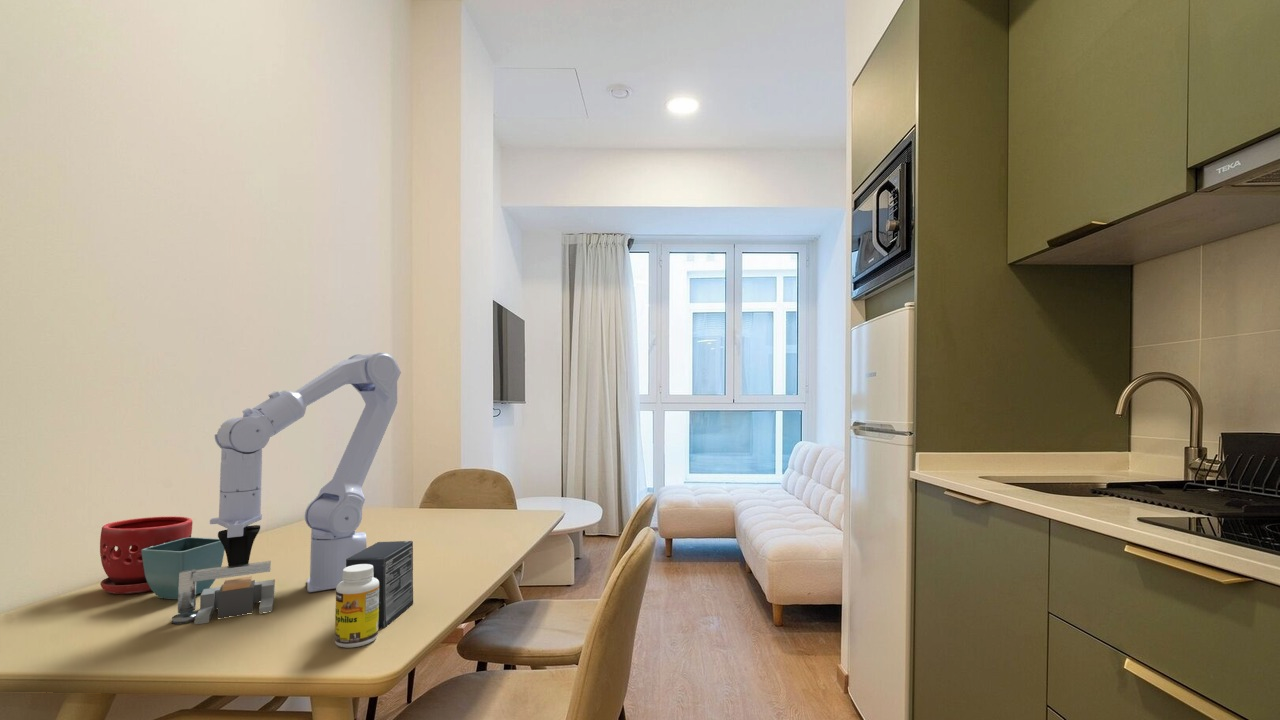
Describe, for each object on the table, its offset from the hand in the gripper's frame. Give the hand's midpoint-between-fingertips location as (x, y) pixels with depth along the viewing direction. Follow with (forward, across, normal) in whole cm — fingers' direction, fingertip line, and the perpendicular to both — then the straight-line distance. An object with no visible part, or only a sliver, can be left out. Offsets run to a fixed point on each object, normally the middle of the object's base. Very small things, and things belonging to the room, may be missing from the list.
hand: (238, 573), depth 96 cm
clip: (+4, +1, -2) cm, 5 cm away
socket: (+6, +1, 0) cm, 6 cm away
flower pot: (+6, -14, -9) cm, 17 cm away
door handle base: (+6, +2, -6) cm, 9 cm away
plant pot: (+6, -24, -16) cm, 29 cm away
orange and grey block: (+6, +2, 0) cm, 6 cm away
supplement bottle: (+6, +24, +16) cm, 30 cm away
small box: (+6, +15, +20) cm, 26 cm away
